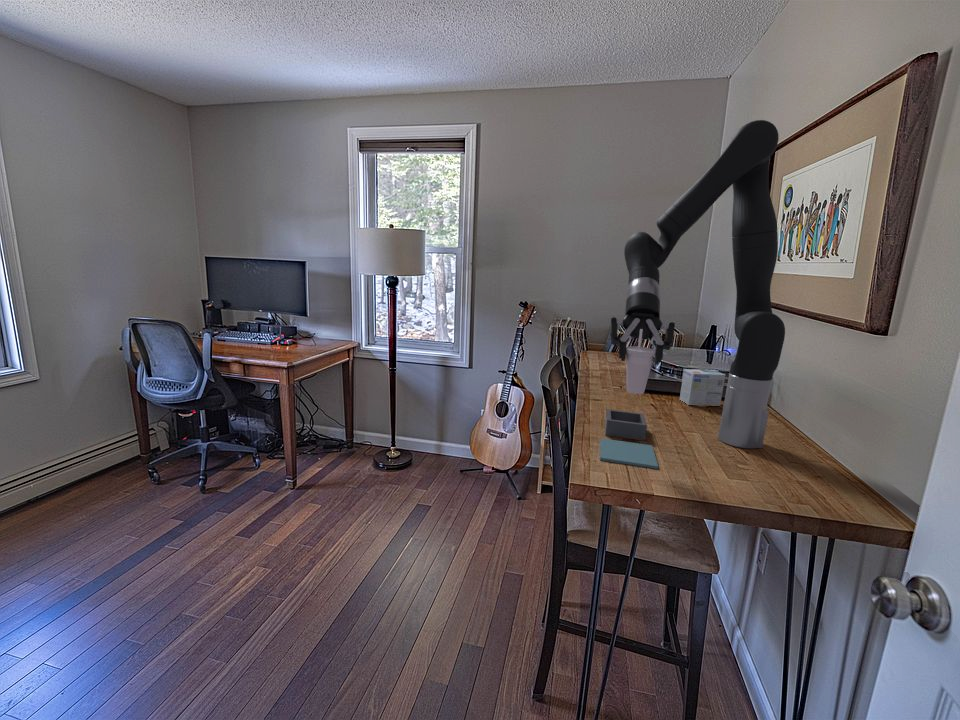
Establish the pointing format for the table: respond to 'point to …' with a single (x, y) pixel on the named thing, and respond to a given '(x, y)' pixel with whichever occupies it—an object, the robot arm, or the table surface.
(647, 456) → the coaster
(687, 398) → the light bulb box
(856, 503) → the table surface
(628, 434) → the frame
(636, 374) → the smoothie
